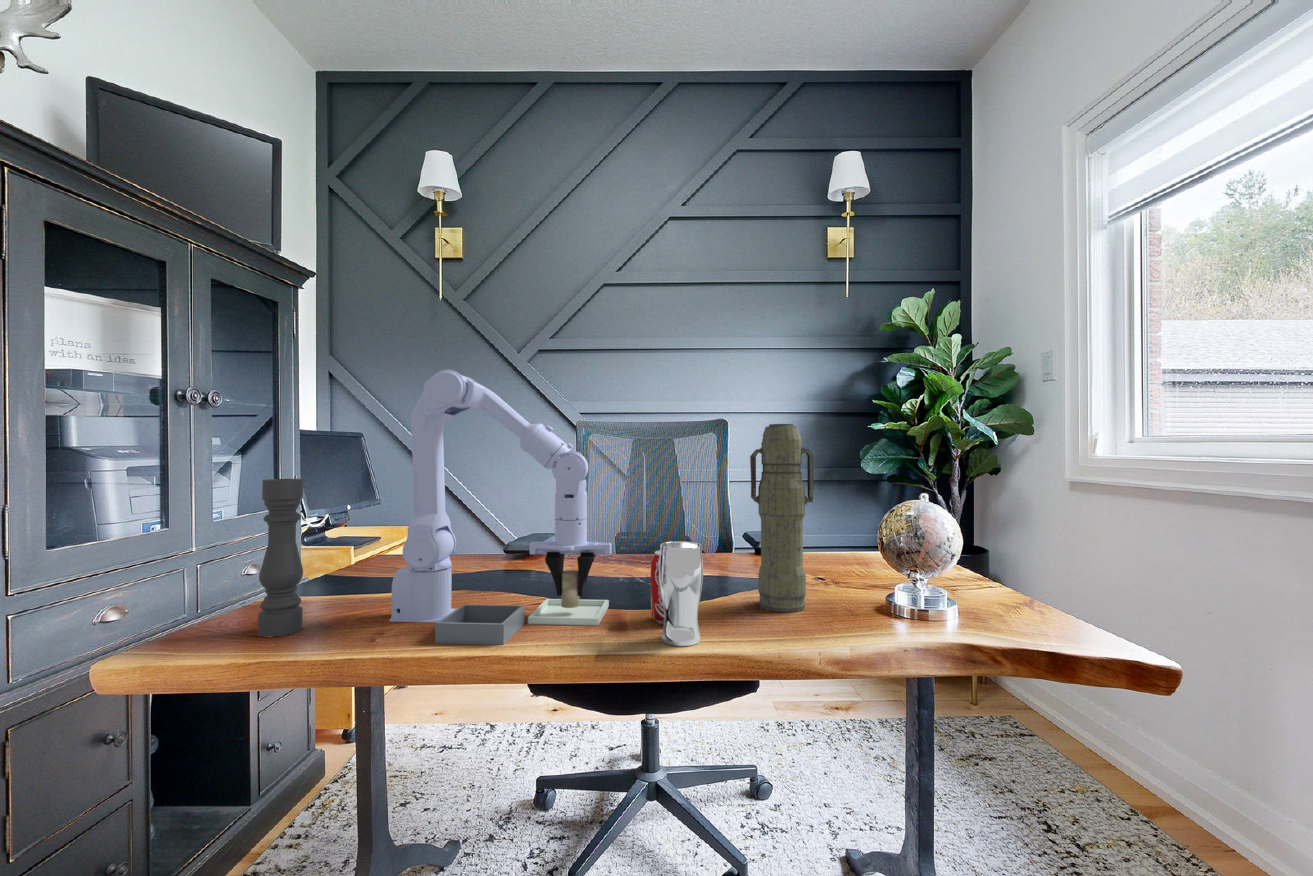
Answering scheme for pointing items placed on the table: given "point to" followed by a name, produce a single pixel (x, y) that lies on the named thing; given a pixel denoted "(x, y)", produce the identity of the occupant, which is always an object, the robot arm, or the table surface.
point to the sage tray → (569, 613)
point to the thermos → (781, 517)
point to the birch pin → (570, 589)
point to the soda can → (656, 591)
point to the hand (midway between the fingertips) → (570, 594)
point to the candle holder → (281, 559)
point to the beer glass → (680, 591)
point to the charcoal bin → (480, 624)
